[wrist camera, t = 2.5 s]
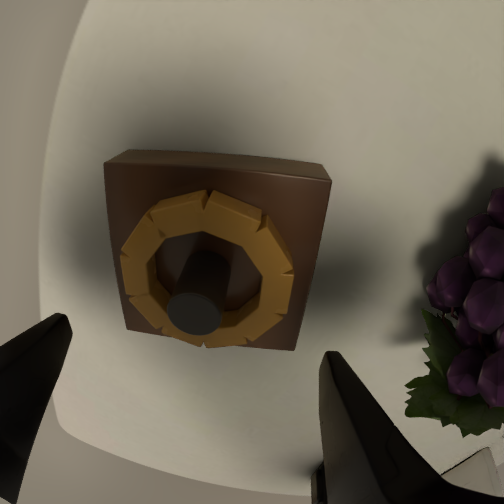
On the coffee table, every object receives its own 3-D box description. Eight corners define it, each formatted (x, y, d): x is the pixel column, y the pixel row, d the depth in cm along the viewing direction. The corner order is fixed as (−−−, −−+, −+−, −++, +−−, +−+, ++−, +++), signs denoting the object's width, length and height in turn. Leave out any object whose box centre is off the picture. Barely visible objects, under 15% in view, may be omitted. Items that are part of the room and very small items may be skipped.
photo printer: (483, 447, 30) (501, 509, 20) (493, 446, 31) (510, 505, 20) (435, 476, 35) (446, 535, 24) (448, 475, 36) (459, 530, 25)
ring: (303, 198, 12) (306, 210, 11) (277, 338, 15) (277, 356, 14) (124, 183, 12) (112, 194, 11) (141, 321, 15) (133, 337, 14)
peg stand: (322, 164, 13) (351, 210, 9) (292, 319, 18) (297, 398, 13) (127, 149, 13) (61, 186, 9) (140, 301, 18) (106, 371, 13)
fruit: (506, 168, 15) (475, 364, 19) (381, 155, 14) (361, 400, 18) (630, 189, 5) (554, 437, 9) (561, 159, 4) (432, 521, 8)
